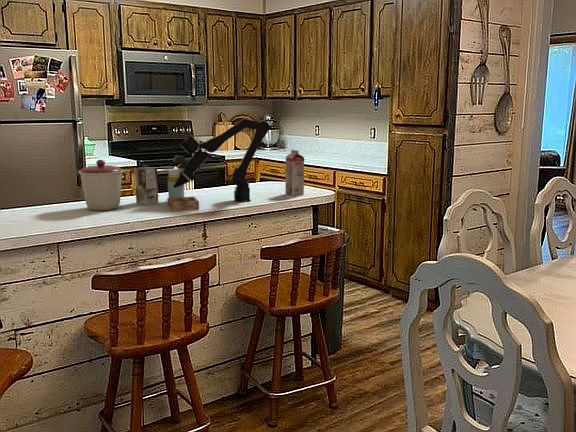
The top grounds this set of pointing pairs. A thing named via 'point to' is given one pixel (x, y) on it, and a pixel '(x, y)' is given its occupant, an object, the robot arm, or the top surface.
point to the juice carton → (294, 174)
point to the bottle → (172, 179)
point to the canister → (101, 186)
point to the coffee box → (146, 185)
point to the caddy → (182, 203)
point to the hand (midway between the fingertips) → (173, 185)
